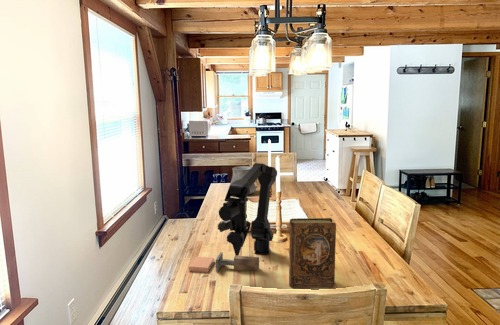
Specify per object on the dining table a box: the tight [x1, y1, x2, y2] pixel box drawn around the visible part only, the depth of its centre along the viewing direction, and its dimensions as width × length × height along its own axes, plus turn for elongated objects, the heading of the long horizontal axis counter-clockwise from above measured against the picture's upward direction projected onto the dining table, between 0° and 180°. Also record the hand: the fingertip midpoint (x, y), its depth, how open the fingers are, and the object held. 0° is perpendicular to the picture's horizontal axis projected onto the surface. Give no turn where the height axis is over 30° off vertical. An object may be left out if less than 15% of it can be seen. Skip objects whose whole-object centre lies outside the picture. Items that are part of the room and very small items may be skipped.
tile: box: [188, 256, 215, 273], centre depth 155 cm, size 2×10×8 cm
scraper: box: [215, 251, 260, 273], centre depth 153 cm, size 17×8×5 cm, turn 81°
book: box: [288, 217, 337, 289], centre depth 138 cm, size 16×6×25 cm, turn 92°
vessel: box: [229, 165, 258, 195], centre depth 277 cm, size 22×22×20 cm
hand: (239, 250), depth 152 cm, fingers open, 9 cm apart
